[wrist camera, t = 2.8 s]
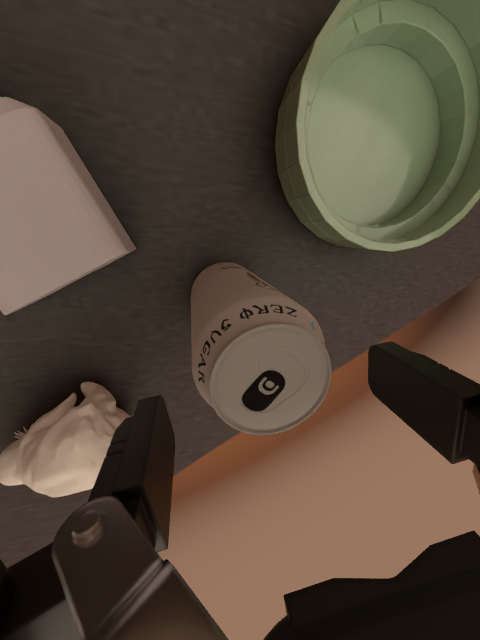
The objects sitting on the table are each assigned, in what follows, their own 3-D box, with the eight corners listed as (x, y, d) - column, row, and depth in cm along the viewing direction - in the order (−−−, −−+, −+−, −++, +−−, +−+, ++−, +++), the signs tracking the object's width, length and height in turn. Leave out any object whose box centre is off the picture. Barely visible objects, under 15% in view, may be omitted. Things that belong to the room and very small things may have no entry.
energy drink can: (269, 289, 25) (374, 365, 11) (228, 337, 25) (276, 468, 11) (219, 246, 23) (267, 271, 9) (176, 300, 23) (157, 403, 9)
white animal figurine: (129, 495, 18) (-13, 559, 19) (155, 411, 26) (53, 459, 27) (67, 434, 16) (-91, 510, 17) (115, 362, 24) (6, 417, 25)
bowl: (260, 29, 19) (284, -38, 14) (462, 12, 20) (543, -53, 16) (283, 261, 24) (306, 269, 19) (441, 231, 26) (496, 231, 21)
